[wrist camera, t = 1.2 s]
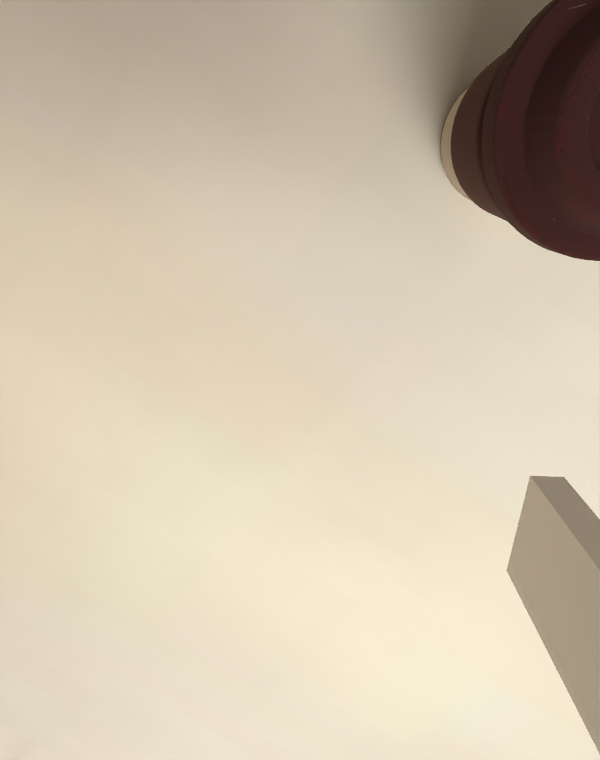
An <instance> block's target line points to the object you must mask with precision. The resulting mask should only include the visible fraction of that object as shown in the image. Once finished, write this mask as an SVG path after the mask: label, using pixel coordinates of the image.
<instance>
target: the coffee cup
mask: <svg viewBox="0 0 600 760" xmlns="http://www.w3.org/2000/svg"><path fill="white" fill-rule="evenodd" d="M441 157H442V163H443V166H444V169H445V172H446V174H447V177H448V178H449V180H450V182H451V183H452V185H453V186H454V187H455V189H456V190H457V191H458V192H459V193H461V194H462V195H463V196H464V197H466V198H468V199H469V200H471V201H473V202H474V203H475V204H476V205H478V206H479V207H480V208H482V209H483V210H485V211H487V212H489V213H491V214H493V215H495V216H497V217H499V218H502V219H504V220H506V221H508V222H509V223H510V224H511V225H512V226H513V227H514V228H515V229H516V230H517V231H518V232H519V233H521V234H522V235H523V236H525V237H526V238H527V239H529V240H530V241H532V242H534V243H535V244H537V245H539V246H541V247H543V248H546V249H548V250H551V251H554V252H557V253H560V254H563V255H567V256H570V257H573V258H578V259H585V260H594V261H600V0H553V1H551V2H550V3H549V4H548V5H547V6H546V7H545V8H544V9H543V10H542V11H540V12H539V13H538V14H537V15H536V16H535V17H534V18H533V19H532V20H531V22H530V23H529V24H528V25H527V27H526V28H525V29H524V30H523V32H522V33H521V34H520V35H519V37H518V38H517V39H516V41H515V42H514V43H513V45H512V47H511V48H509V49H508V50H507V51H506V52H505V53H503V54H502V55H501V56H500V57H499V58H497V59H496V60H495V61H494V62H492V63H491V64H490V65H489V66H488V67H487V68H485V69H484V70H483V71H482V72H481V73H480V75H479V76H478V77H477V78H476V79H475V80H474V82H473V83H472V84H471V85H470V86H469V87H468V88H467V89H466V90H465V91H464V92H463V93H462V94H461V95H460V96H459V98H458V99H457V100H456V102H455V103H454V105H453V106H452V108H451V110H450V112H449V114H448V116H447V119H446V121H445V124H444V128H443V132H442V139H441Z"/></svg>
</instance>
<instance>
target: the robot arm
mask: <svg viewBox="0 0 600 760" xmlns="http://www.w3.org/2000/svg"><path fill="white" fill-rule="evenodd" d="M507 572H508V574H509V576H510V578H511V580H512V582H513V584H514V586H515V588H516V590H517V592H518V594H519V596H520V598H521V600H522V602H523V604H524V606H525V608H526V610H527V612H528V614H529V615H530V617H531V619H532V621H533V623H534V625H535V627H536V629H537V631H538V633H539V635H540V637H541V639H542V641H543V643H544V645H545V647H546V649H547V651H548V653H549V655H550V657H551V659H552V661H553V663H554V665H555V667H556V669H557V671H558V673H559V675H560V677H561V679H562V680H563V682H564V684H565V686H566V688H567V690H568V692H569V694H570V696H571V698H572V700H573V702H574V704H575V706H576V708H577V710H578V712H579V714H580V716H581V718H582V720H583V722H584V724H585V726H586V728H587V730H588V732H589V734H590V736H591V738H592V740H593V742H594V744H595V745H596V747H597V749H598V751H599V753H600V520H599V518H598V517H597V516H596V515H595V514H594V512H593V511H592V510H591V509H590V508H589V506H588V505H587V504H586V503H585V502H584V500H583V499H582V498H581V497H580V496H579V495H578V493H577V492H576V491H575V490H574V489H573V487H572V486H571V485H570V484H569V483H568V481H567V480H566V479H565V478H564V477H546V476H530V479H529V483H528V487H527V491H526V495H525V499H524V503H523V507H522V511H521V515H520V519H519V523H518V527H517V531H516V535H515V539H514V543H513V547H512V551H511V555H510V560H509V564H508V568H507Z"/></svg>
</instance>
